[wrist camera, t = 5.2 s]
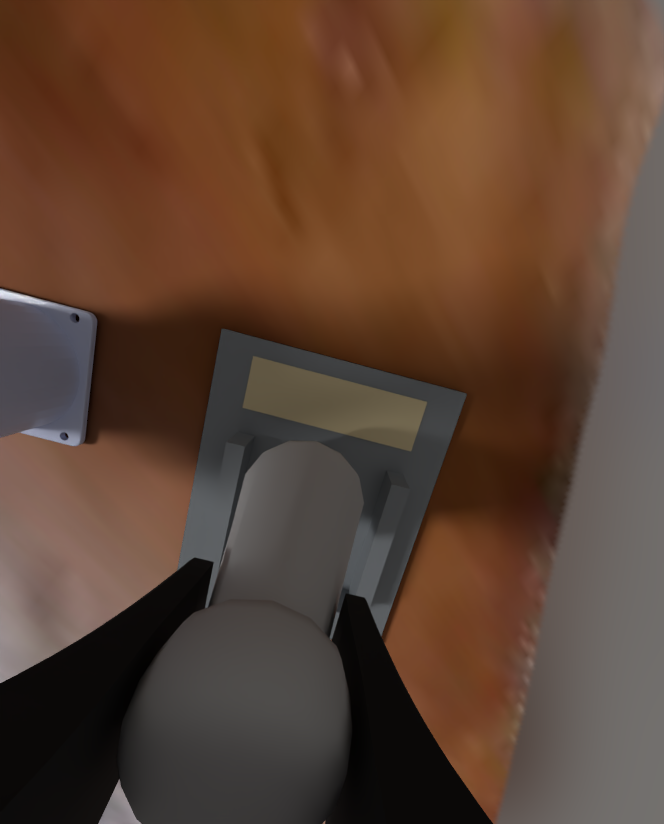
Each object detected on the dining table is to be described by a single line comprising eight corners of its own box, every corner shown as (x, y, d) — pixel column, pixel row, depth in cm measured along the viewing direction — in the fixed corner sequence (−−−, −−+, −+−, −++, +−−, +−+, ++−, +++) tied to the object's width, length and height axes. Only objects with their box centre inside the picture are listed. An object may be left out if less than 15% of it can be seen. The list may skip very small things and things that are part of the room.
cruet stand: (176, 593, 23) (155, 625, 20) (225, 328, 19) (207, 327, 16) (375, 642, 23) (379, 679, 20) (463, 392, 19) (481, 400, 17)
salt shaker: (381, 490, 18) (473, 849, 5) (299, 546, 19) (210, 967, 6) (315, 406, 17) (235, 594, 4) (232, 468, 18) (-31, 773, 5)
